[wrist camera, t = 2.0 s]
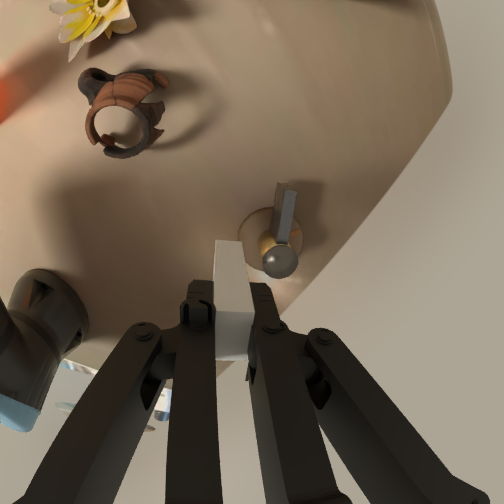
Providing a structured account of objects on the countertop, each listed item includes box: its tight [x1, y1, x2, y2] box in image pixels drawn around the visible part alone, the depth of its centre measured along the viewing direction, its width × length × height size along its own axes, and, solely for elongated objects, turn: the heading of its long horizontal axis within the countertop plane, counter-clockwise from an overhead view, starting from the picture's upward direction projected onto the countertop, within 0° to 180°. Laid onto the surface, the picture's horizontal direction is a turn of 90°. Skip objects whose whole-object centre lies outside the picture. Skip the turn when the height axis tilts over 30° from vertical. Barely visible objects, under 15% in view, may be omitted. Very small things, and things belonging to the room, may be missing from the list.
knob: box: [257, 182, 298, 279], centre depth 29 cm, size 9×4×5 cm, turn 173°
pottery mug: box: [78, 68, 169, 159], centre depth 23 cm, size 12×10×8 cm
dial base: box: [238, 208, 303, 271], centre depth 34 cm, size 8×8×2 cm
